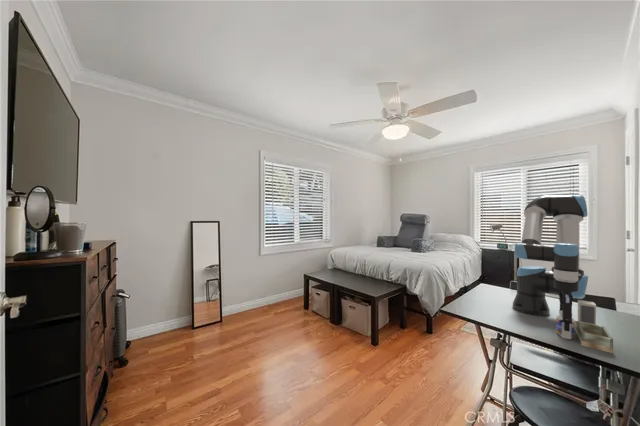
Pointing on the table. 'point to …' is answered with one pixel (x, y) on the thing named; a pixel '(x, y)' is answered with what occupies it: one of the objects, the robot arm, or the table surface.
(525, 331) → the table surface
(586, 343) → the tray
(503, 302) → the table surface
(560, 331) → the pill bottle
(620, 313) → the table surface
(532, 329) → the table surface
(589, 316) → the white upright block
